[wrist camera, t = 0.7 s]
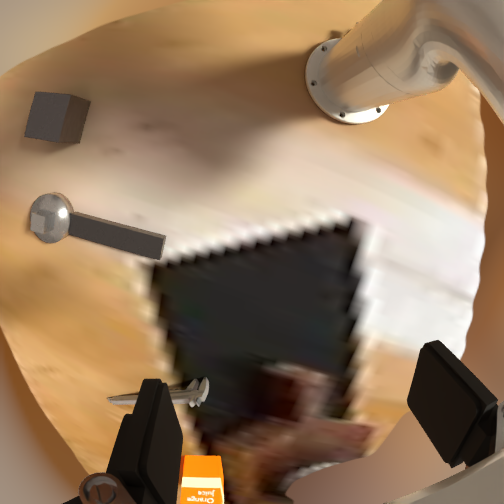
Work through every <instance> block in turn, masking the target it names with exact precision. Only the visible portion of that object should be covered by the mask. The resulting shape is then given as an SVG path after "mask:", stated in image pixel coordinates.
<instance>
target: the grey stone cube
mask: <svg viewBox="0 0 504 504" xmlns="http://www.w3.org/2000/svg"><path fill="white" fill-rule="evenodd" d="M89 106H90V101H87V100H85V99H82V98H79V97H76V96H73V95H69V94H59V93H47V92H35V96H34V99H33V103H32V106H31V110H30V114H29V118H28V122H27V127H26V131H25V136H24V137H29V138H35V139H41V140H47V141H53V142H58V143H80V140H81V135H82V131H83V128H84V124H85V120H86V116H87V113H88V109H89Z"/></svg>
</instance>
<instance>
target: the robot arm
mask: <svg viewBox="0 0 504 504" xmlns="http://www.w3.org/2000/svg"><path fill="white" fill-rule="evenodd" d="M321 49H323V50H324V51H322V50H321ZM459 69H460V70H461V71H462V72H463V73H464V74H465V75H466V76H467V78H468V79H469V80H470V81H471V82H472V84H473V85H474V86H475V87H477V88H478V90H479V91H480V92H481V94H482V95H483V96H484V98H485V99H486V100H487V102H488V103H489V104H490V106H491V107H492V108H493V110H494V111H495V113H496V114H497V116H498V117H499V119H500V120H501V122H502V123H503V124H504V0H382V1H381V2H380V3H379V4H378V5H377V6H376V7H375V8H374V9H373V10H372V11H371V12H370V13H369V14H368V15H367V16H365V17H364V18H363V19H362V20H361V21H360V22H359V23H356V25H355V27H354V28H353V29H352V30H351V31H349V32H348V33H347V34H346V35H345V36H344V37H343V38H335V39H331V40H328V41H326V42H324V43H322V44H320V45H319V46H318V47H317V48H316V49H315V50H314V51H313V52H312V53H311V55H310V57H309V59H308V61H307V64H306V68H305V80H306V85H307V88H308V92H309V93H310V95H311V97H312V99H313V101H314V102H315V103H316V104H317V106H318V107H319V108H320V109H321V110H322V111H323V112H324V113H326V114H327V115H329V116H330V117H332V118H333V119H336V120H338V121H340V122H344V123H348V124H362V123H367V122H371V121H373V120H375V119H377V118H378V117H380V116H381V115H382V114H383V113H384V112H385V111H386V109H387V108H388V106H389V104H392V103H396V102H400V101H403V100H407V99H411V98H415V97H419V96H423V95H427V94H430V93H434V92H437V91H440V90H442V89H443V88H445V87H446V86H448V85H449V84H450V83H451V82H452V80H453V79H454V78H455V76H456V74H457V72H458V70H459ZM311 83H313V84H314V86H312V85H311ZM376 110H377V112H376ZM339 114H341V115H342V117H340V116H339ZM497 401H498V399H497V398H496V397H495V396H494V395H493V394H492V393H491V392H490V391H489V390H488V389H487V388H486V387H485V385H484V384H483V383H482V382H481V381H480V380H479V379H478V378H477V377H476V376H475V375H474V374H473V373H472V372H471V371H470V370H469V369H468V368H467V367H466V366H465V365H464V364H463V363H462V362H461V361H460V360H459V359H458V358H457V357H456V356H455V355H454V354H453V353H452V352H451V351H450V350H449V349H448V348H447V347H446V346H445V345H444V344H443V343H442V342H441V341H439V340H436V341H432V342H428V343H425V344H424V346H423V348H421V350H420V353H419V357H418V361H417V365H416V369H415V373H414V377H413V380H412V384H411V388H410V391H409V394H408V398H407V404H408V406H409V408H410V410H411V411H412V413H413V414H414V415H415V417H416V419H417V420H418V421H419V423H420V425H421V426H422V428H423V429H424V431H425V432H426V434H427V435H428V437H429V439H430V440H431V442H432V443H433V445H434V446H435V448H436V450H437V451H438V453H439V454H440V456H441V457H442V459H443V461H444V462H445V463H449V464H450V466H451V468H453V467H455V466H457V465H459V464H461V463H463V461H464V462H465V464H466V467H465V470H463V471H461V472H459V473H457V474H455V475H453V476H451V477H449V478H447V479H445V480H442V481H440V482H438V483H436V484H433V485H431V486H429V487H427V488H424V489H422V490H419V491H417V492H414V493H412V494H409V495H407V496H404V497H401V498H398V499H396V500H393V501H390V502H387V503H384V504H504V401H503V402H502V403H500V405H499V406H498V405H497V404H496V403H497ZM182 444H183V434H182V430H181V427H180V424H179V421H178V418H177V415H176V412H175V409H174V406H173V402H172V399H171V396H170V392H169V389H168V386H167V383H162V381H161V379H144V380H143V382H142V385H141V388H140V391H139V395H138V398H137V401H136V404H135V407H134V410H133V413H132V414H126V415H125V416H124V418H123V420H122V423H121V426H120V429H119V432H118V435H117V438H116V441H115V445H114V448H113V451H112V454H111V457H110V461H109V464H108V467H107V471H106V473H104V472H102V473H94V474H91V475H89V476H87V477H86V478H85V479H84V480H83V481H82V482H81V484H80V486H79V496H77V497H75V498H73V499H71V500H69V501H67V502H65V503H63V504H176V501H177V491H178V481H179V471H180V461H181V452H182Z"/></svg>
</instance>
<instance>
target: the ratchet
mask: <svg viewBox="0 0 504 504" xmlns="http://www.w3.org/2000/svg"><path fill="white" fill-rule="evenodd" d="M30 219H31V228H30V230H31V231H34V232H35V234H36V235H37V236H38V237H39V238H40V239H41V240H42V241H44V242H46V243H55V242H58V241H60V240H61V239H63V238H65V237H66V236H68V235H73V236H76V237H79V238H83V239H86V240H90V241H93V242H97V243H100V244H103V245H107V246H110V247H114V248H118V249H121V250H125V251H128V252H132V253H135V254H139V255H143V256H146V257H150V258H154V259H157V260H160V259H161V257H162V253H163V248H164V244H165V239H166V236H165V235H161V234H157V233H153V232H150V231H146V230H142V229H138V228H135V227H131V226H127V225H123V224H120V223H116V222H112V221H108V220H105V219H101V218H97V217H94V216H90V215H86V214H82V213H79V212H74V210H73V207H72V205H71V203H70V201H69V200H68V199H67V198H66V197H65V196H64V195H62V194H60V193H49V194H45V195H42V196H40V197H39V198H38V199H37V200H36V201H35V202H34V204H33V206H32V209H31V214H30Z"/></svg>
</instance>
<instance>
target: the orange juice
mask: <svg viewBox="0 0 504 504" xmlns="http://www.w3.org/2000/svg"><path fill="white" fill-rule="evenodd" d="M180 504H224V491H223V470H222V464H221V457H220V456H188V455H185V460H184V469H183V477H182V490H181V501H180Z"/></svg>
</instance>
